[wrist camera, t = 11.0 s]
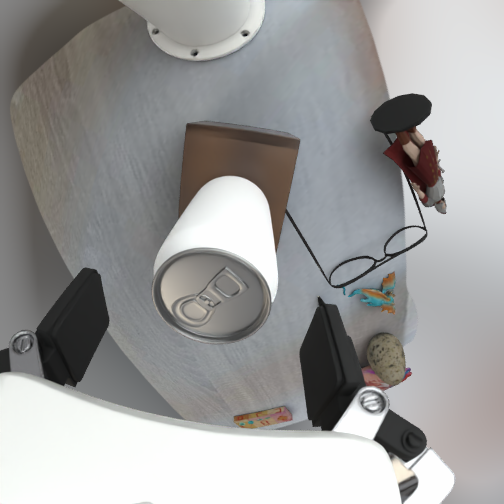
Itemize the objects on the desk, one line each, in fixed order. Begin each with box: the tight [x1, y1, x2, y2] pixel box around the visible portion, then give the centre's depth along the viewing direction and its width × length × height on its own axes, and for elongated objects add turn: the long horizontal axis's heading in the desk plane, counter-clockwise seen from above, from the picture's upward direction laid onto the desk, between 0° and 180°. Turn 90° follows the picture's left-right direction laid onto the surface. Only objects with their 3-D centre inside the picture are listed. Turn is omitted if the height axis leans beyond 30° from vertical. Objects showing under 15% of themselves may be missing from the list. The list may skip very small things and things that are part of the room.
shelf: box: [178, 121, 300, 252], centre depth 26 cm, size 9×14×8 cm, turn 171°
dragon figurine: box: [342, 272, 395, 314], centre depth 36 cm, size 7×7×8 cm
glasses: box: [285, 115, 427, 288], centre depth 29 cm, size 14×15×5 cm
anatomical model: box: [361, 365, 412, 391], centre depth 43 cm, size 11×6×15 cm
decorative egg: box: [367, 333, 405, 386], centre depth 37 cm, size 6×6×10 cm
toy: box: [234, 406, 293, 429], centre depth 53 cm, size 12×2×5 cm
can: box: [152, 176, 278, 344], centre depth 18 cm, size 6×6×12 cm
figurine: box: [370, 94, 446, 214], centre depth 24 cm, size 7×7×15 cm
